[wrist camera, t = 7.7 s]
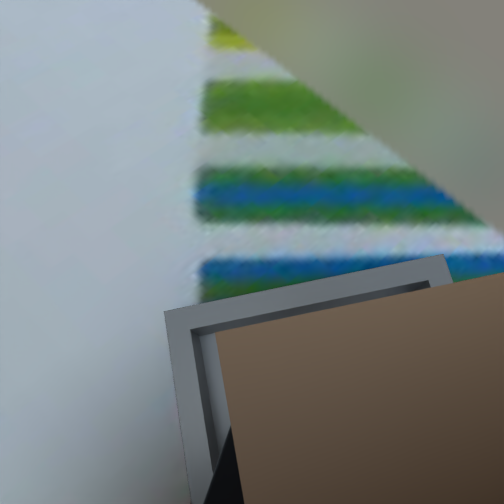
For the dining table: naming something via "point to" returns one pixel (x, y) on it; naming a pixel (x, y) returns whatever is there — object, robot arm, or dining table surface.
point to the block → (373, 400)
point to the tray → (253, 312)
